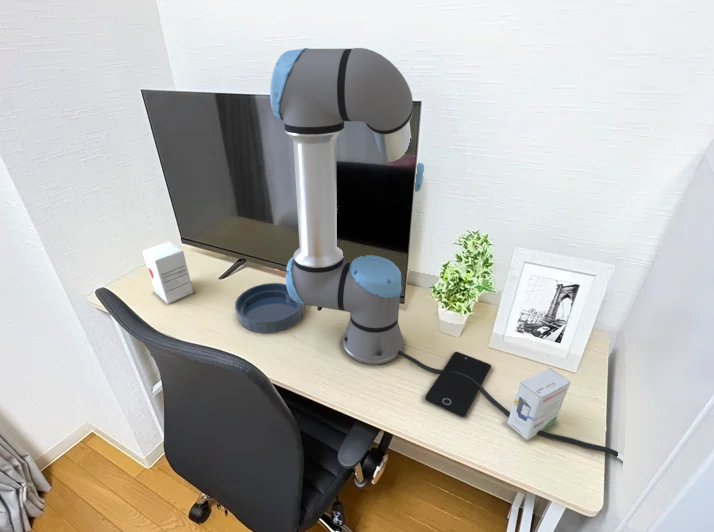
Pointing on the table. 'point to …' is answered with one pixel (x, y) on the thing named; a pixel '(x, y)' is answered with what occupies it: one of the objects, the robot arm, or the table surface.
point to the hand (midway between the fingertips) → (318, 282)
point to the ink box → (538, 402)
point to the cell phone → (458, 383)
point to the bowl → (268, 308)
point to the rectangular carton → (168, 271)
